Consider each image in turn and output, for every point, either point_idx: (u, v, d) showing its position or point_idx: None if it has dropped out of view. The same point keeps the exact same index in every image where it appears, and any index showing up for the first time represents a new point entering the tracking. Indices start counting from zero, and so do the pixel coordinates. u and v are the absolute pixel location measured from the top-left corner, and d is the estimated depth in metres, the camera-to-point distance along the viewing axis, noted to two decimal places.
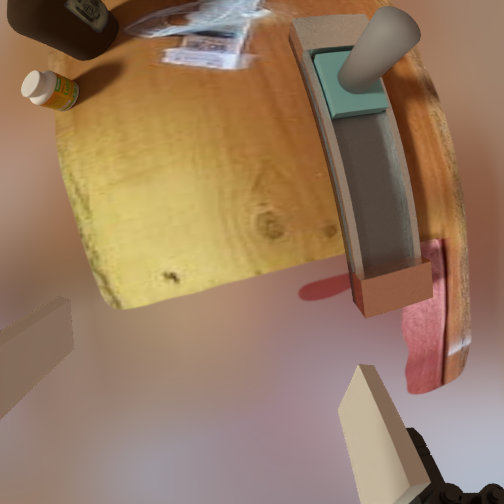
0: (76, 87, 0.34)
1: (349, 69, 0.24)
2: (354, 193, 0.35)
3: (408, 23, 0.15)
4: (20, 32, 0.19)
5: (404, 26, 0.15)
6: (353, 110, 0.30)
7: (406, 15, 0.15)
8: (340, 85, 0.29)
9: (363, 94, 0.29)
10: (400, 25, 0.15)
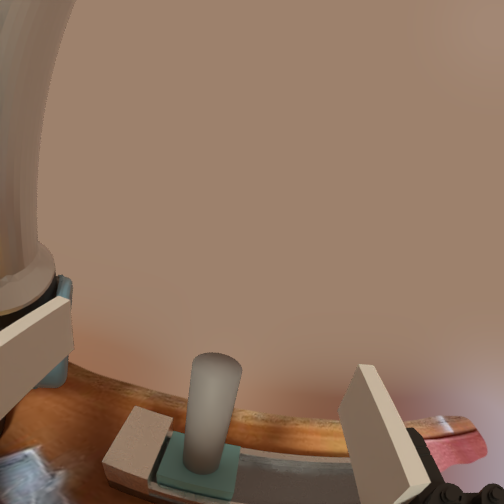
0: None
1: (205, 451, 0.22)
2: None
3: (216, 358, 0.23)
4: None
5: (219, 363, 0.23)
6: (235, 477, 0.24)
7: (207, 354, 0.23)
8: (203, 474, 0.23)
9: (220, 461, 0.26)
10: (217, 365, 0.22)
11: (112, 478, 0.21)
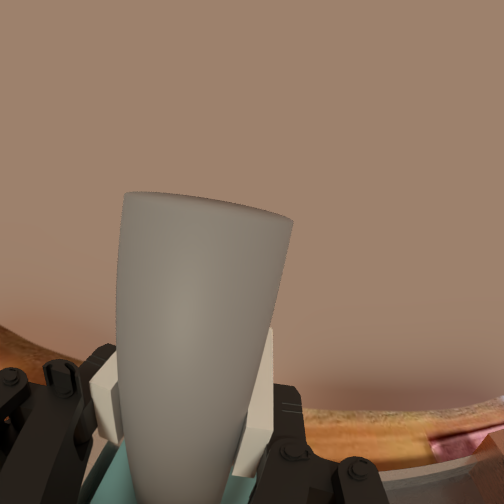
0: None
1: (178, 496, 0.07)
2: None
3: (207, 200, 0.08)
4: None
5: (216, 203, 0.07)
6: None
7: (180, 195, 0.08)
8: None
9: (220, 503, 0.10)
10: (210, 204, 0.07)
11: None
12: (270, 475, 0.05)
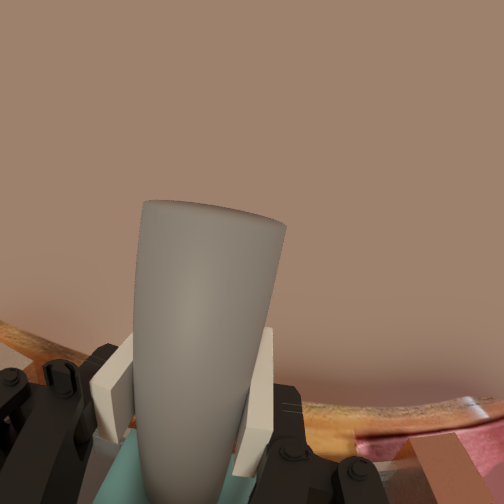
0: None
1: (185, 476, 0.08)
2: None
3: (213, 208, 0.09)
4: None
5: (221, 211, 0.09)
6: None
7: (189, 202, 0.09)
8: None
9: (222, 489, 0.12)
10: (216, 211, 0.08)
11: None
12: (270, 475, 0.05)
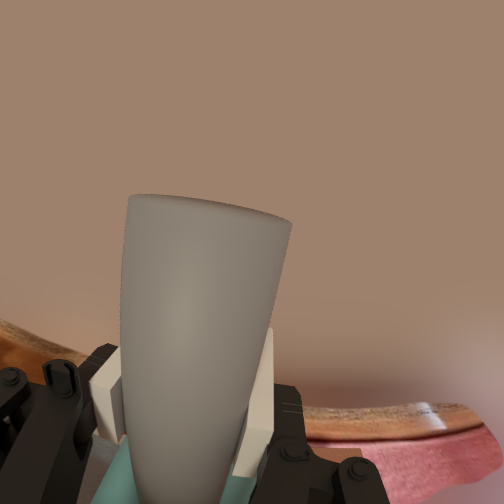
0: None
1: (180, 492, 0.07)
2: None
3: (209, 203, 0.08)
4: None
5: (217, 206, 0.08)
6: None
7: (182, 197, 0.08)
8: None
9: (220, 500, 0.11)
10: (212, 206, 0.07)
11: None
12: (270, 475, 0.05)
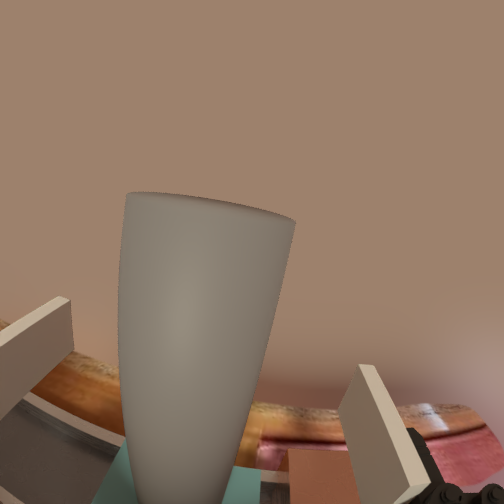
0: None
1: (180, 497, 0.07)
2: None
3: (209, 201, 0.08)
4: None
5: (218, 204, 0.07)
6: None
7: (182, 195, 0.08)
8: None
9: (221, 503, 0.10)
10: (213, 204, 0.07)
11: None
12: None
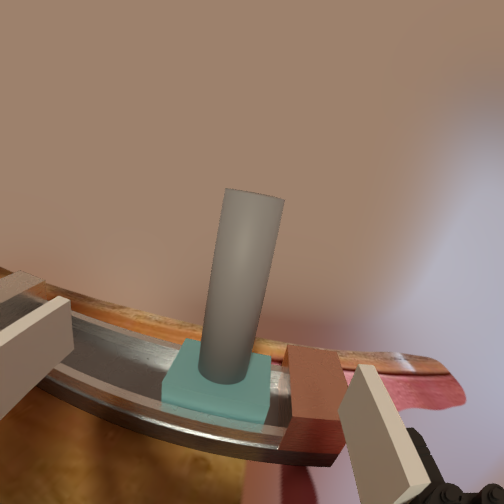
0: None
1: (233, 331, 0.20)
2: None
3: (252, 192, 0.21)
4: None
5: (256, 193, 0.20)
6: (268, 388, 0.21)
7: (241, 190, 0.21)
8: (226, 384, 0.21)
9: (248, 370, 0.23)
10: (255, 193, 0.20)
11: None
12: None
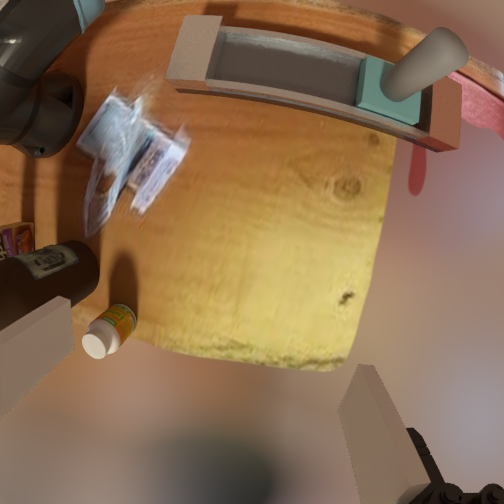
0: (120, 305, 0.42)
1: (412, 91, 0.25)
2: (352, 102, 0.33)
3: (448, 35, 0.15)
4: None
5: (451, 42, 0.15)
6: (419, 106, 0.29)
7: (440, 29, 0.15)
8: (397, 102, 0.29)
9: None
10: (451, 44, 0.15)
11: (178, 86, 0.33)
12: None
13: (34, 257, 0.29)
